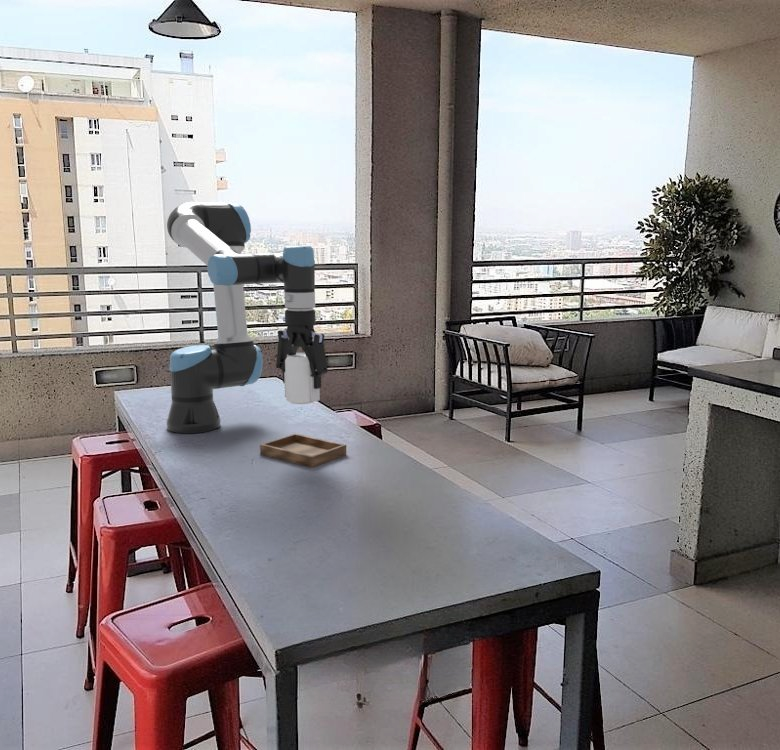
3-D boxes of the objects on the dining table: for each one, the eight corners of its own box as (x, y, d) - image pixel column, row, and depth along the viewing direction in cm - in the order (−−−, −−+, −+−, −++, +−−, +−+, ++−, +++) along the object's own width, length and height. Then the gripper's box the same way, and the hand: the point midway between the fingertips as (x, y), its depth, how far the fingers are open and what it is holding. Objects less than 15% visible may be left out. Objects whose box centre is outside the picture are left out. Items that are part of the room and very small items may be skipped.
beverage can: (321, 398, 191) (320, 352, 189) (314, 405, 183) (313, 357, 181) (290, 397, 192) (289, 351, 190) (282, 404, 184) (281, 357, 182)
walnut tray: (260, 454, 191) (259, 444, 190) (295, 442, 201) (295, 433, 200) (312, 467, 180) (311, 457, 180) (346, 454, 190) (346, 444, 190)
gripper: (259, 307, 186) (262, 395, 191) (321, 313, 174) (323, 407, 178) (280, 305, 192) (283, 390, 197) (342, 310, 180) (343, 401, 184)
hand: (302, 398), depth 187 cm, fingers closed on beverage can, 8 cm apart
